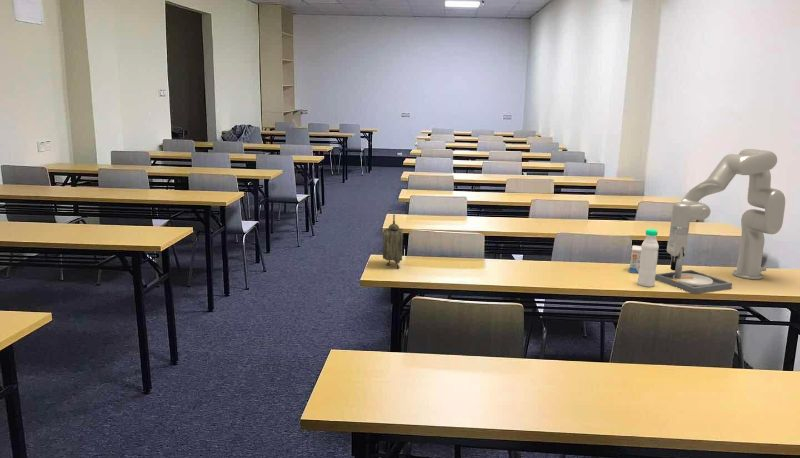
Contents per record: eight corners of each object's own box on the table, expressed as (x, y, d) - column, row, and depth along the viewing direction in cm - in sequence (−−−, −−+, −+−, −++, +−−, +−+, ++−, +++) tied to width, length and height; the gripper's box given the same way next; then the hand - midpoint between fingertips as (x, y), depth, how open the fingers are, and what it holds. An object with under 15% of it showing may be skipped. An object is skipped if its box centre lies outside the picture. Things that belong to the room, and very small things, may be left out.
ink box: (629, 272, 287) (631, 248, 285) (629, 268, 295) (631, 244, 292) (648, 274, 284) (651, 250, 282) (648, 270, 292) (651, 246, 289)
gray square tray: (690, 275, 285) (691, 269, 284) (731, 288, 265) (732, 282, 264) (654, 279, 277) (655, 273, 276) (693, 293, 257) (694, 287, 256)
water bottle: (655, 287, 264) (662, 232, 259) (638, 286, 266) (644, 230, 260) (652, 283, 271) (658, 228, 266) (636, 281, 272) (641, 227, 267)
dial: (700, 276, 279) (703, 254, 276) (719, 286, 263) (723, 263, 261) (666, 275, 278) (668, 254, 276) (683, 286, 262) (685, 263, 260)
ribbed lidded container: (401, 270, 284) (402, 217, 279) (382, 269, 284) (383, 217, 279) (402, 261, 298) (403, 212, 293) (383, 261, 299) (384, 211, 293)
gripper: (664, 226, 277) (659, 265, 281) (677, 233, 263) (673, 274, 267) (680, 227, 277) (676, 265, 281) (695, 234, 262) (690, 274, 266)
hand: (674, 269), depth 274 cm, fingers closed
